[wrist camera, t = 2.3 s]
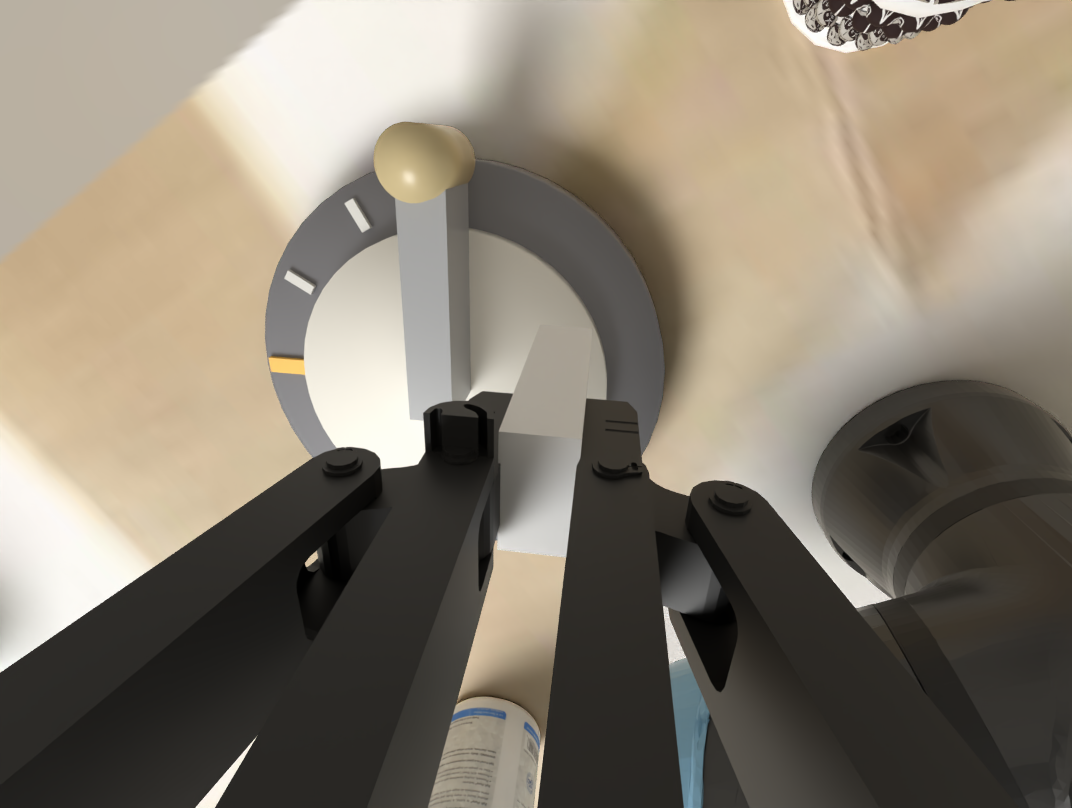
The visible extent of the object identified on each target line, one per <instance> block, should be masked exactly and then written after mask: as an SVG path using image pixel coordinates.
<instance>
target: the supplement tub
mask: <svg viewBox="0 0 1072 808" xmlns="http://www.w3.org/2000/svg"><path fill="white" fill-rule="evenodd" d="M539 748H540V731H539V728H538V725H537V723H536V721H535V720H534V719H533V717H532V716H531V715H530V714H529V713H528V712H527V711H526V710H525V709H523V708H522V707H520V706H519V705H517V704H515V703H513V702H510V701H507V700H504V699H500V698H494V697H485V696H483V697H474V698H470V699H467V700H464V701H462V702H460V703H458V704H457V705H456V706H455V710H454V713H453V717H452V721H451V725H450V728H449V732H448V736H447V739H446V743H445V747H444V750H443V754H442V758H441V761H440V765H439V769H438V772H437V776H436V780H435V783H434V787H433V791H432V794H431V798H430V802H429V805H428V808H534V799H535V789H536V779H537V769H538V758H539Z"/></svg>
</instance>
